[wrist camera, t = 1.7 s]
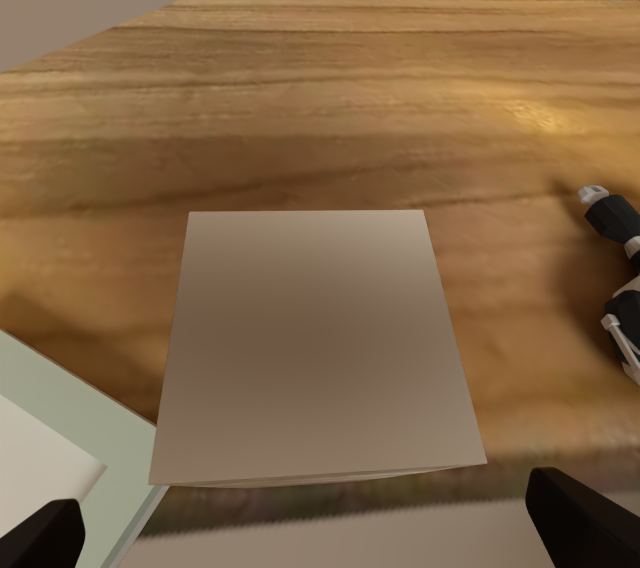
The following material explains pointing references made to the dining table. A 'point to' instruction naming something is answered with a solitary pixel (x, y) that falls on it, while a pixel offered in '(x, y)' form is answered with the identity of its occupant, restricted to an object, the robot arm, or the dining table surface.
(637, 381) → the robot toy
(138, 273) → the dining table surface
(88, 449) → the picture frame
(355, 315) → the block stack
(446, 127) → the dining table surface
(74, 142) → the dining table surface
